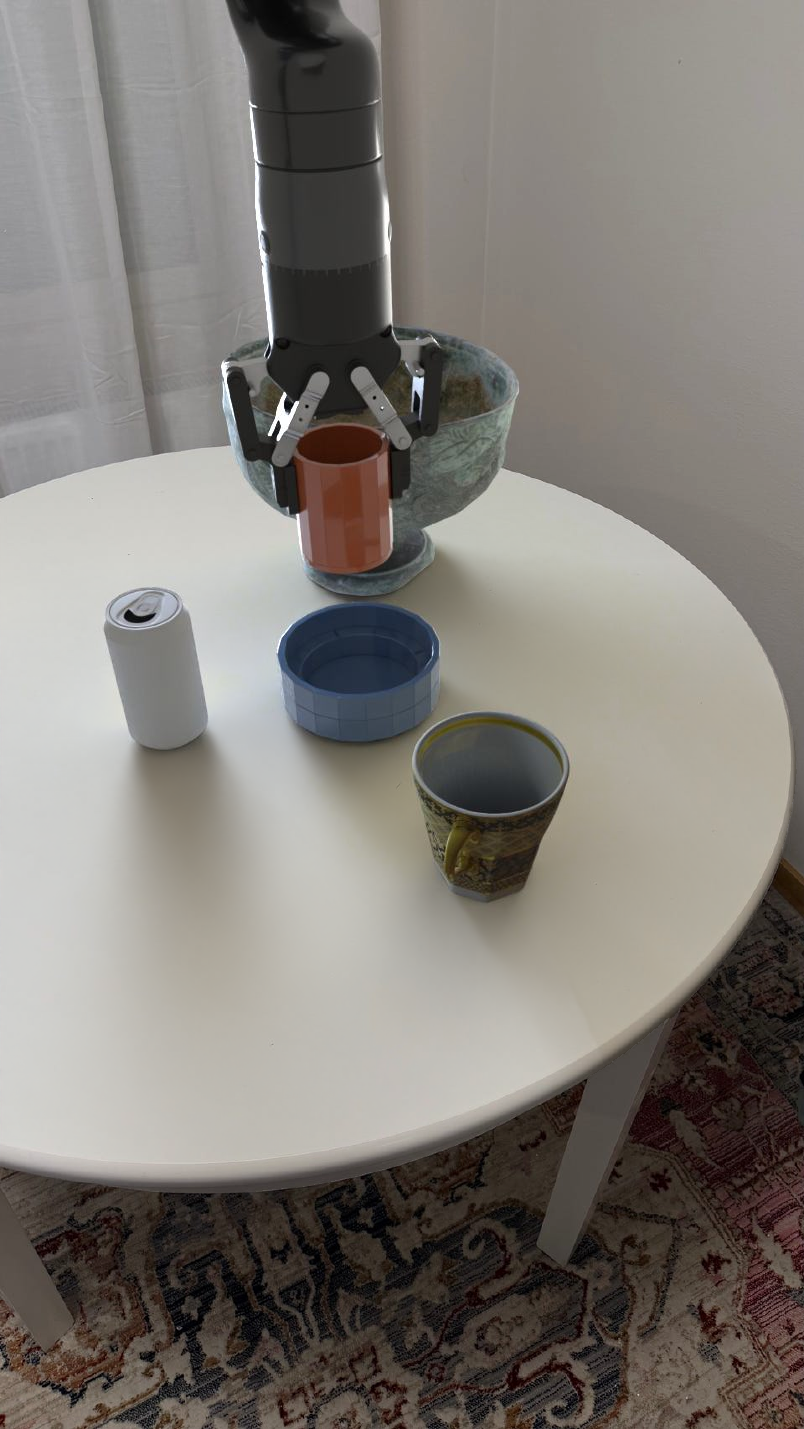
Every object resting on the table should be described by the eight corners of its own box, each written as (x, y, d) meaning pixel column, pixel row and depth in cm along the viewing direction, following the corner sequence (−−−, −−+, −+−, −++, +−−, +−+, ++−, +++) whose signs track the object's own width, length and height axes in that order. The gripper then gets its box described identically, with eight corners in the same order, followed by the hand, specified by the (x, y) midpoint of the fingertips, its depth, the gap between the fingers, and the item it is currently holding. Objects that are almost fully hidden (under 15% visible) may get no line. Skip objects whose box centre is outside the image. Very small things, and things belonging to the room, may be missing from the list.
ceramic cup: (441, 799, 75) (443, 696, 69) (571, 834, 72) (586, 729, 66) (374, 930, 66) (369, 825, 60) (521, 976, 63) (532, 871, 57)
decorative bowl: (185, 547, 103) (159, 353, 90) (375, 472, 116) (378, 294, 103) (349, 672, 88) (348, 463, 75) (546, 571, 101) (574, 378, 88)
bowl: (298, 760, 79) (293, 711, 76) (271, 662, 89) (265, 615, 85) (459, 730, 81) (460, 681, 78) (415, 637, 91) (415, 591, 88)
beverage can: (116, 749, 80) (83, 625, 72) (150, 699, 85) (123, 578, 77) (191, 761, 79) (165, 637, 71) (221, 709, 84) (200, 588, 76)
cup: (310, 580, 68) (299, 473, 63) (293, 533, 73) (282, 430, 68) (402, 565, 70) (399, 459, 64) (380, 520, 74) (376, 417, 69)
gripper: (427, 215, 62) (429, 463, 73) (194, 238, 60) (231, 491, 71) (463, 250, 57) (459, 513, 67) (207, 277, 54) (246, 545, 65)
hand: (343, 501), depth 69 cm, fingers closed on cup, 6 cm apart
